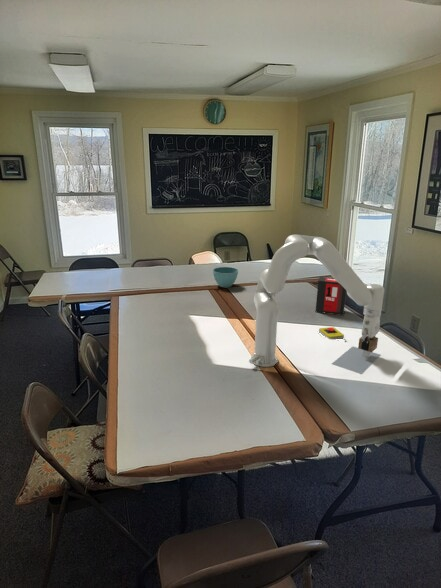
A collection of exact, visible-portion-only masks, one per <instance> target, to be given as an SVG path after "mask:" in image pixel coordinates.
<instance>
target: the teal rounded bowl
mask: <svg viewBox="0 0 441 588" xmlns="http://www.w3.org/2000/svg"><path fill="white" fill-rule="evenodd" d="M212 273H213V274H212V275H213V277H214V280H215V282H216V283H217V285H218V286H219V287H220V288H225V289H227V288H231V287H232V286H233V285H234V283H235V282H236V280H237V278H238V274H239V270H238V269H237V268H235V267H230V266H221V267H219V266H218V267H215V268H213V269H212Z"/></svg>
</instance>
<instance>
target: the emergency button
mask: <svg viewBox="0 0 441 588" xmlns="http://www.w3.org/2000/svg"><path fill="white" fill-rule="evenodd" d="M318 331H319V333H321V334H322V335H323V336H325V338H327V339H329V340H331V339H333V340H336V339H343V338H344V339H345V335H344V333H342V332H341V331H340V330H338V329H337V328H335V327H334V326H331V327H321V328H319V329H318ZM319 333H318V334H319Z"/></svg>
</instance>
